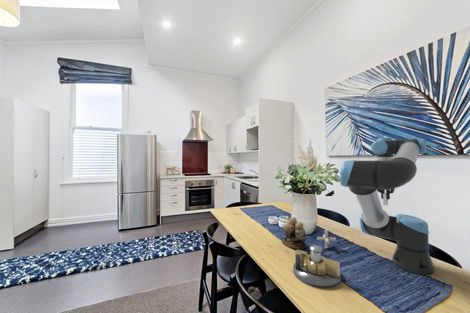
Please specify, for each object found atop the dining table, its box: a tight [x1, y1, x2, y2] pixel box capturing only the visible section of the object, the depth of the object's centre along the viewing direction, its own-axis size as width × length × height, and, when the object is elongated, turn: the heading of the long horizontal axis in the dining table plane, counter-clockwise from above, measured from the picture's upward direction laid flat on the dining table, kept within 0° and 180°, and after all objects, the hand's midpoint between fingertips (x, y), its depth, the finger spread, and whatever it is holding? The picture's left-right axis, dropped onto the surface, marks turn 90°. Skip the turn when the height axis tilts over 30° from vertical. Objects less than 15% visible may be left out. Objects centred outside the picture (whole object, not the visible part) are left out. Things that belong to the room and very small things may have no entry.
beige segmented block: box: [294, 249, 341, 277], centre depth 93 cm, size 19×10×6 cm, turn 48°
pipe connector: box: [316, 229, 337, 249], centre depth 120 cm, size 10×10×10 cm
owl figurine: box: [281, 216, 308, 251], centre depth 124 cm, size 18×12×17 cm, turn 29°
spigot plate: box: [292, 244, 342, 289], centre depth 93 cm, size 20×20×12 cm
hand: (385, 204), depth 120 cm, fingers closed
